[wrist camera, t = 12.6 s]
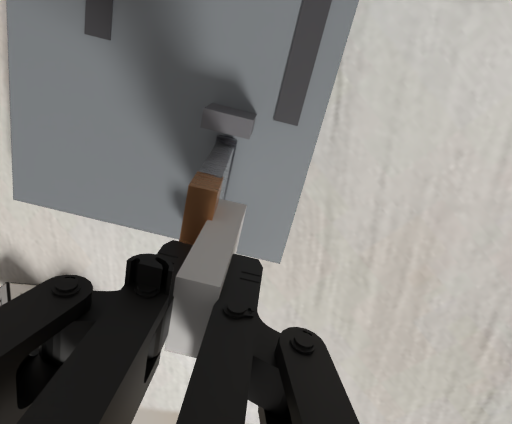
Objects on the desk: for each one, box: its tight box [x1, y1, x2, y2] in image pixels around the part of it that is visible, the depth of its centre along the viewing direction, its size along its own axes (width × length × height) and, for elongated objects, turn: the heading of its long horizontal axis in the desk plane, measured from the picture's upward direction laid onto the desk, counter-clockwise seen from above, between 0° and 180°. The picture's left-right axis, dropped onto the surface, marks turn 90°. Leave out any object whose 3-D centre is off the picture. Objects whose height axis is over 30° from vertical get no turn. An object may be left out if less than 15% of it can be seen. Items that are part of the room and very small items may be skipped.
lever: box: [179, 135, 238, 245], centre depth 18 cm, size 5×1×9 cm, turn 167°
